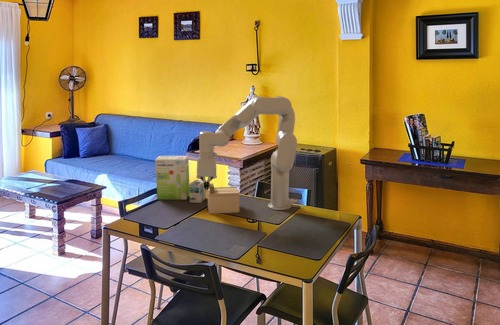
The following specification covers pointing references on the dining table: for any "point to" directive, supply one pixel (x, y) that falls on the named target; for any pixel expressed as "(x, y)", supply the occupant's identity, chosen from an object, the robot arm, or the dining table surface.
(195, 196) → the light bulb box
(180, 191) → the green product box
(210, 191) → the lid
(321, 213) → the dining table surface
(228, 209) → the carton
